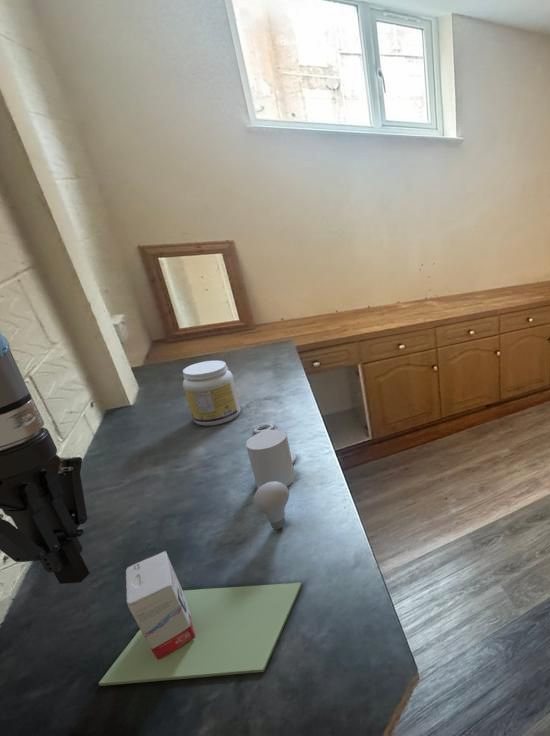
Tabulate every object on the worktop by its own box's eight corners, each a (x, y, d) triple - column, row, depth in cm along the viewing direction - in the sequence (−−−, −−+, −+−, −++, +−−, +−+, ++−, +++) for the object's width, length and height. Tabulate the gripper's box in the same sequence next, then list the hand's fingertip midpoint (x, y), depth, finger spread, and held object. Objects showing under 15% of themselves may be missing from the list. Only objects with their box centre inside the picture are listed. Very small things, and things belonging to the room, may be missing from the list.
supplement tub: (203, 409, 126) (189, 361, 120) (247, 405, 130) (235, 357, 124) (187, 430, 115) (170, 377, 109) (235, 424, 119) (221, 373, 113)
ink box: (196, 639, 61) (174, 584, 57) (153, 663, 58) (126, 608, 54) (188, 600, 67) (167, 548, 63) (148, 620, 64) (124, 566, 59)
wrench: (277, 472, 100) (299, 463, 103) (275, 467, 99) (298, 458, 102) (252, 430, 116) (272, 424, 119) (250, 425, 115) (271, 419, 119)
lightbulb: (287, 512, 87) (278, 471, 83) (300, 526, 83) (291, 483, 79) (257, 528, 82) (245, 485, 78) (269, 544, 79) (257, 500, 75)
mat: (99, 686, 56) (98, 683, 55) (169, 593, 69) (169, 591, 68) (264, 671, 58) (263, 669, 58) (302, 584, 71) (301, 582, 71)
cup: (302, 471, 99) (293, 430, 95) (281, 494, 92) (271, 450, 87) (271, 469, 100) (262, 428, 96) (248, 491, 93) (237, 447, 88)
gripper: (-27, 472, 43) (60, 621, 51) (83, 411, 55) (138, 540, 63) (-107, 475, 42) (-5, 626, 51) (23, 413, 54) (87, 543, 63)
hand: (75, 578), depth 57 cm, fingers closed
